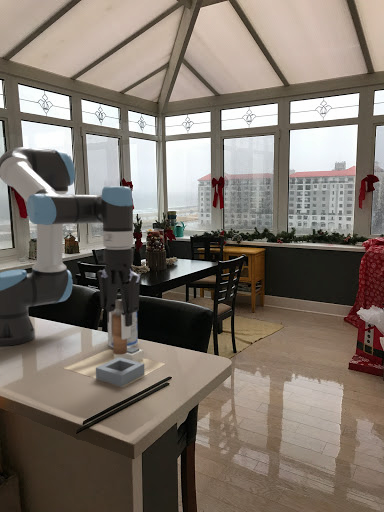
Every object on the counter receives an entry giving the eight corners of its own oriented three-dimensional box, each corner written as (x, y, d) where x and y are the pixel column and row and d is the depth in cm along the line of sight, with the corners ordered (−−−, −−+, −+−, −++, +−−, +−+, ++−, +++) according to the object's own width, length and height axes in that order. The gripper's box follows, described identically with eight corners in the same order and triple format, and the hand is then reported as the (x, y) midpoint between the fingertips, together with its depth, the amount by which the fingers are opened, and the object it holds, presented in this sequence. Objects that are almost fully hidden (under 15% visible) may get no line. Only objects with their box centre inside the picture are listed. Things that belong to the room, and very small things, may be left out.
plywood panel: (63, 371, 115) (63, 368, 114) (109, 352, 130) (108, 349, 130) (123, 391, 103) (123, 387, 103) (165, 367, 118) (165, 363, 118)
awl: (119, 348, 111) (118, 298, 109) (129, 351, 109) (129, 299, 107) (110, 352, 108) (109, 300, 106) (120, 355, 106) (119, 302, 104)
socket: (96, 378, 108) (95, 367, 108) (119, 367, 115) (119, 356, 115) (121, 386, 103) (121, 375, 103) (144, 374, 111) (144, 363, 110)
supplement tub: (143, 346, 135) (142, 302, 133) (119, 353, 128) (118, 308, 127) (126, 339, 142) (125, 297, 140) (102, 346, 135) (101, 302, 134)
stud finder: (114, 360, 121) (113, 348, 120) (125, 354, 125) (125, 343, 124) (132, 365, 117) (132, 353, 116) (143, 359, 121) (143, 348, 121)
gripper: (84, 247, 106) (86, 334, 109) (133, 251, 97) (135, 346, 100) (104, 244, 112) (106, 327, 115) (153, 248, 104) (154, 338, 107)
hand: (120, 336), depth 108 cm, fingers closed on awl, 3 cm apart
